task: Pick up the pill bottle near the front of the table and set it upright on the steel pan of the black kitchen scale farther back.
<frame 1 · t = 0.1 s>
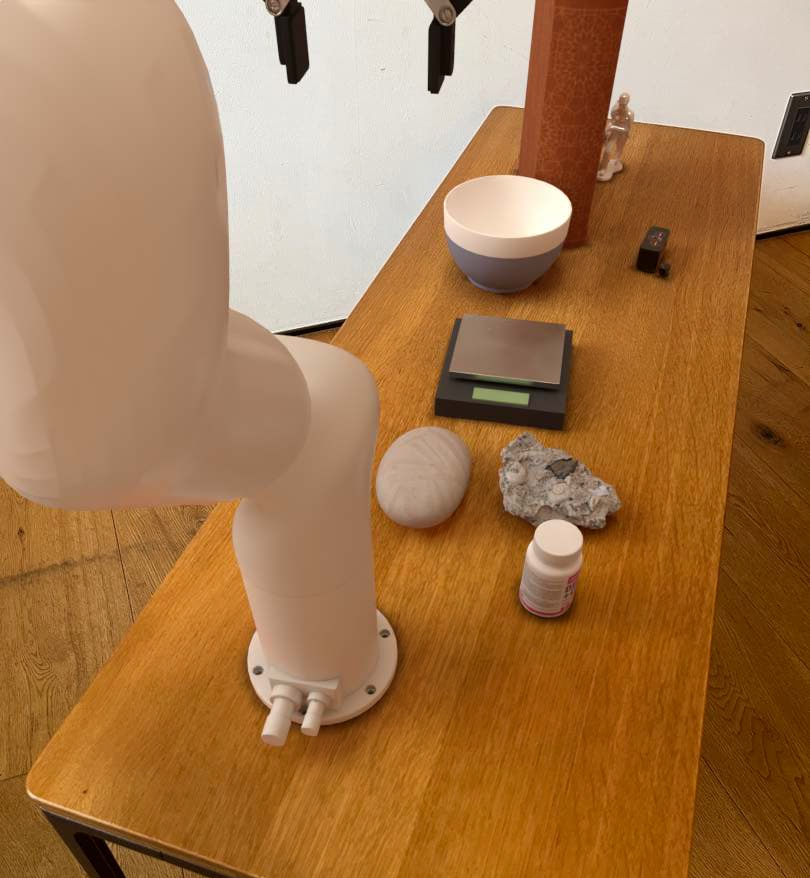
hand: (367, 81, 54), 37 cm above the table, tool pointing down, fingers open, 9 cm apart
mineral specimen: (553, 508, 78), on the table
scale pan: (508, 349, 88), point 4 cm above the table, slide at 0.0 cm
scale: (505, 380, 90), on the table
decorative stone: (423, 494, 79), on the table
bowl: (500, 275, 105), on the table
pill bottle: (545, 598, 71), on the table
book: (549, 209, 116), on the table
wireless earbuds: (653, 266, 106), on the table
figurine: (606, 176, 123), on the table
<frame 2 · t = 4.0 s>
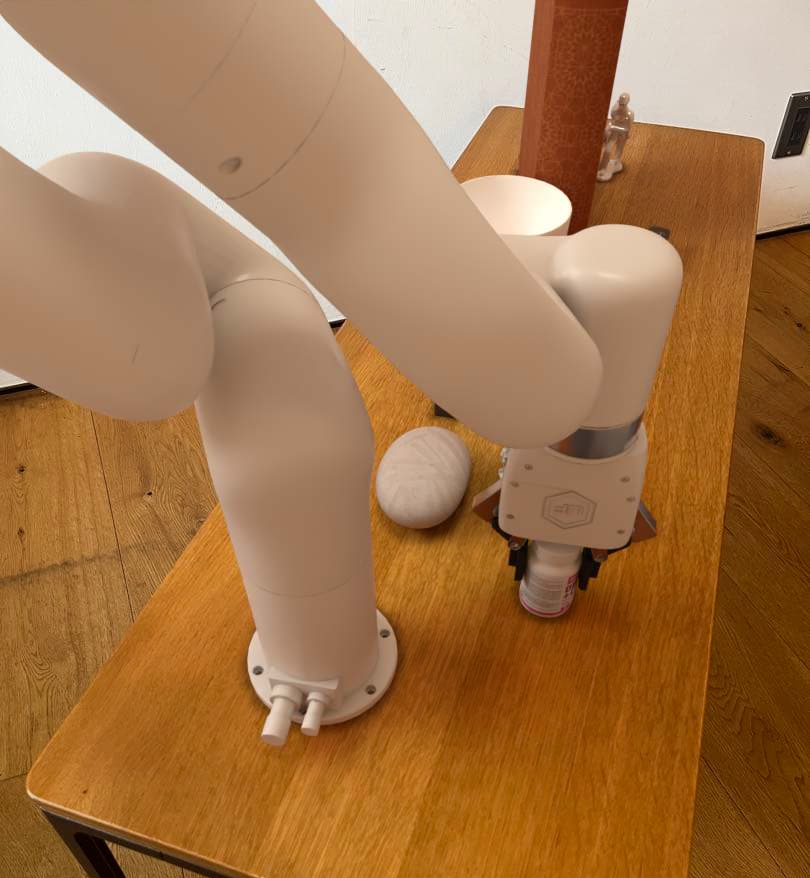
hand: (551, 571, 68), 4 cm above the table, tool pointing down, fingers closed on pill bottle, 4 cm apart
pill bottle: (545, 598, 71), on the table, touching gripper
everything else where it was.
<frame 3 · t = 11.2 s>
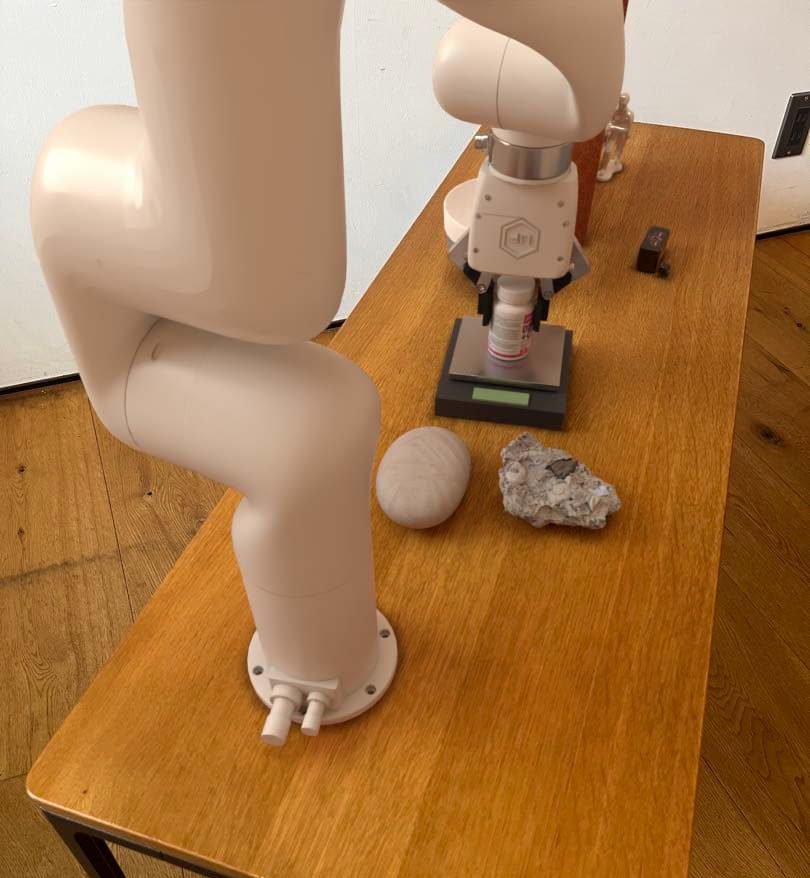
hand: (511, 320, 85), 7 cm above the table, tool pointing down, fingers closed on pill bottle, 4 cm apart
scale pan: (508, 351, 89), point 3 cm above the table, slide at -0.3 cm, touching pill bottle
pill bottle: (508, 350, 88), point 3 cm above the table, touching gripper, scale pan
everything else where it was.
when the fingers open (7 cm above the table, at t = 11.2 s): pill bottle stays where it is, resting on scale pan.
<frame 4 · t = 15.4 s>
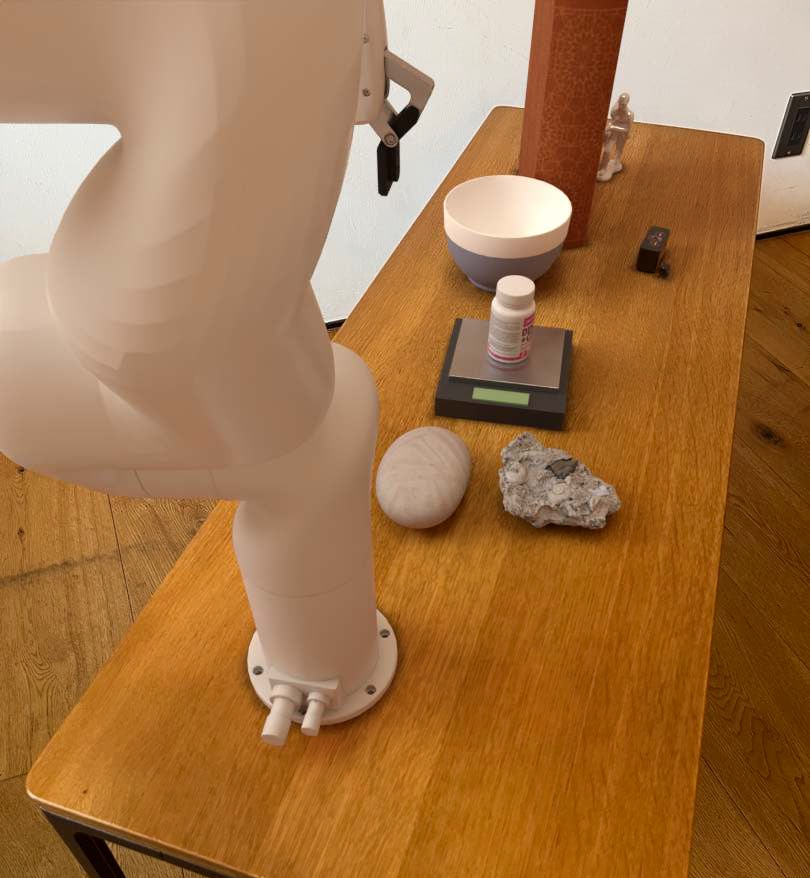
hand: (330, 183, 66), 26 cm above the table, tool pointing down, fingers open, 9 cm apart
scale pan: (508, 354, 89), point 3 cm above the table, slide at -0.6 cm, touching pill bottle
pill bottle: (508, 353, 89), point 3 cm above the table, touching scale pan
everything else where it was.
at the end: pill bottle inside the target area on the scale (0.1 cm from its centre), point 3.1 cm above the scale's base; pill bottle tilted 0° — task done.
